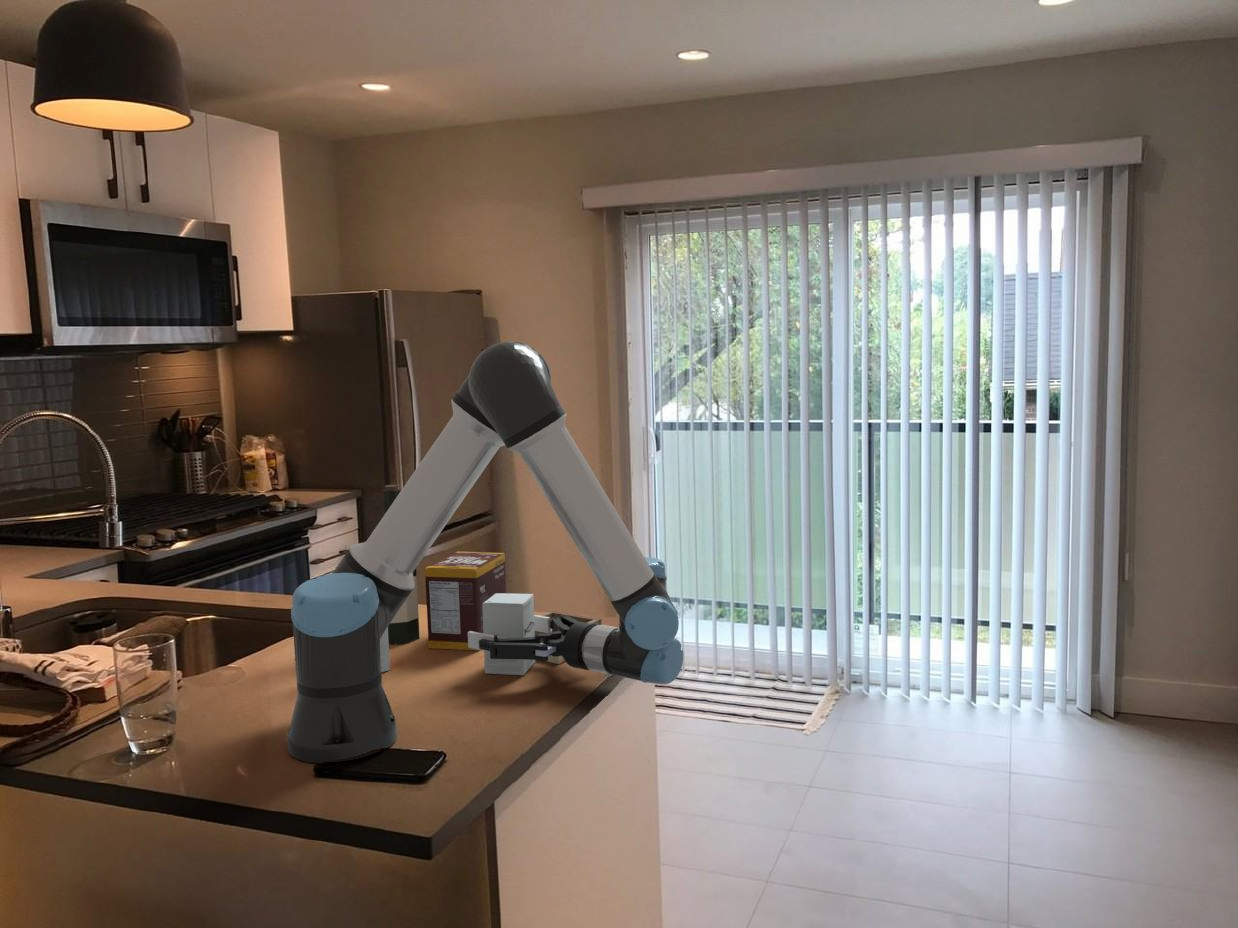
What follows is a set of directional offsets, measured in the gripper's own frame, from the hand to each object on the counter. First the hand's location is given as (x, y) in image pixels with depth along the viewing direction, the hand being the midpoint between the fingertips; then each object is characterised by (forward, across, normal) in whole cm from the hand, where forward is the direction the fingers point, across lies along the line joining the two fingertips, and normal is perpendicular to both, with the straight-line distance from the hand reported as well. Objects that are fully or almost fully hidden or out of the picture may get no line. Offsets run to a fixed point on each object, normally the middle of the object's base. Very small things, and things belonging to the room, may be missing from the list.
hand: (495, 629), depth 176 cm
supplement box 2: (-3, 0, -7) cm, 7 cm away
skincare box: (+18, -13, -7) cm, 23 cm away
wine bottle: (+28, +3, -7) cm, 29 cm away
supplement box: (+16, +10, -7) cm, 20 cm away
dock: (-1, +16, -6) cm, 17 cm away
